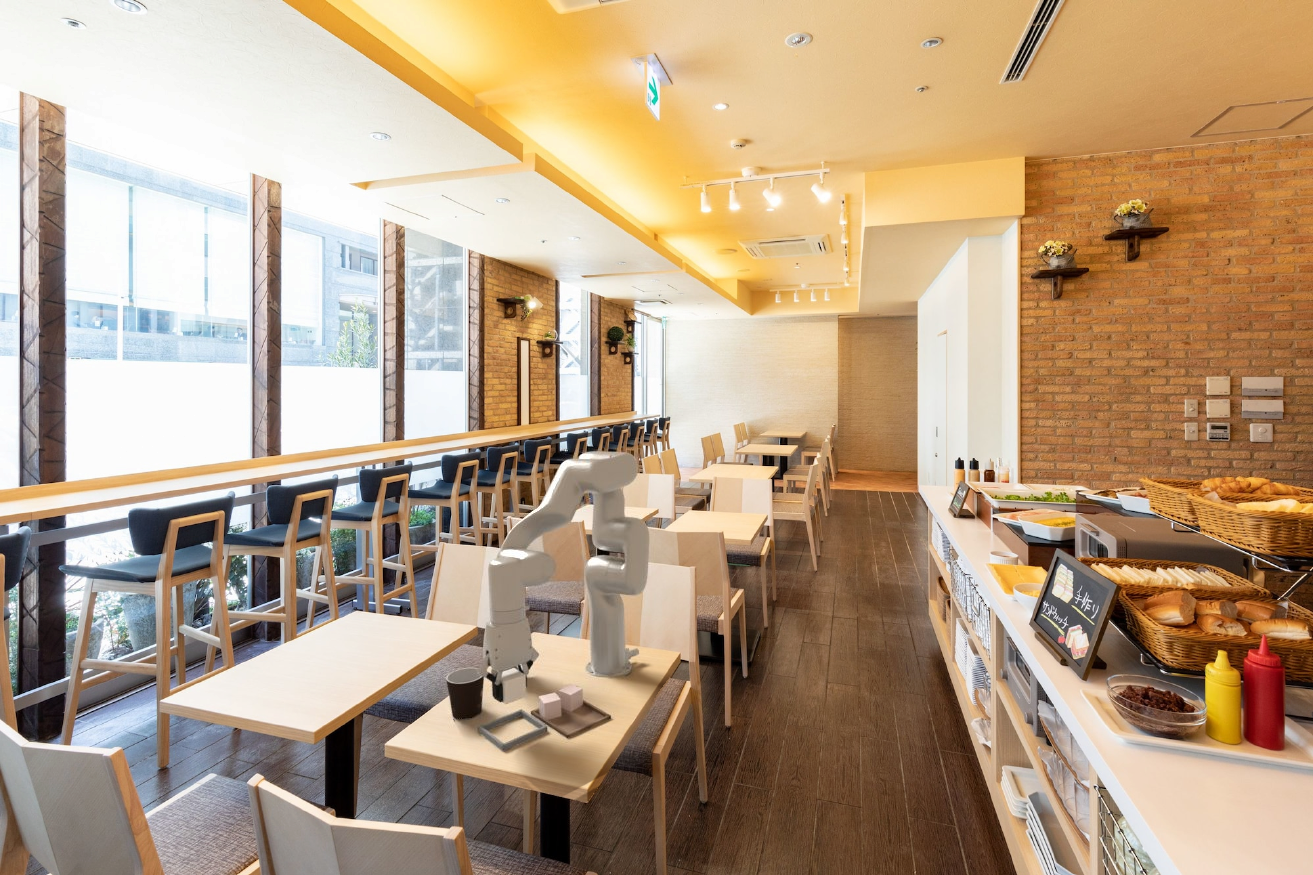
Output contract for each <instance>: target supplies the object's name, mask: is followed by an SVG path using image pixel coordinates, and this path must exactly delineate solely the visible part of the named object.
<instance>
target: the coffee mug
mask: <svg viewBox="0 0 1313 875" xmlns="http://www.w3.org/2000/svg"><path fill="white" fill-rule="evenodd" d="M478 669H479V667H464V668H459V669H456V670H453V671H451V672H450V673H448V674H447V675H446V677H445V680H446V685H447V691H448V698H449V703H450V709H451V715H452V717H453V722H456V720H463V721H464V720H470V719H473V718H476V717H477V716H479V715H480V714H481V713H482V710H483V708H482V707H483V696H484V681H485V680H484V679H485V677H483V676H481V675H479V674H478V673H477V670H478ZM455 719H456V720H455Z"/></svg>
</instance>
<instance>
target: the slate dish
mask: <svg viewBox="0 0 1313 875" xmlns="http://www.w3.org/2000/svg"><path fill="white" fill-rule="evenodd" d="M520 717H521V718H522V719H524V720H526V721H527V722H529V723H530V724H532V725H533V726H535V727H536V729H534V730H532V731H530V732H527V733H524V734H522V735H520V736H517V737H516V738H513V739H511V740H508V741H506V742H504V743H503V741H502V740H501V739H499V738H498V737H496V736H495V735H493V734H492V733H491V732H490V731H489V730H490V729H493V728H495V727H497V726H500V725H503V724H506V723H507V722H510V721H512V720H516V719H518V718H520ZM477 733H479V734H480V735H481V736H482V737H484V739H487V740H488V741H489V742H490V743H491V744H493V745H494V746H495V747H497V748H498V749H499V750H501V752H505V751H507V750H509V749H512V748H514V747H516V746H518V745H521V744H522V743H525V742H527V741H531V740H532V739H535V738H537V737H538V736H541V735H543V734H546V733H548V725H546V724H545V723H543V722H542V721H540V720H539V719H537V718H536V717H534V716H532V715H531V713H528V712H527V711H525V710H523V709H522V708H521V709H518V710H516V711H513V712H511V713H508V714H506V715H503V716H501V717H498V718H497V719H494V720H491V721H488V722H486V723H483V724H480V725H479V726H477Z"/></svg>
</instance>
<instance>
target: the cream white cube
mask: <svg viewBox="0 0 1313 875" xmlns="http://www.w3.org/2000/svg"><path fill="white" fill-rule="evenodd" d="M501 683H502V685H503V702H502V703H503V704H504V705H508V704H511V703H514V702H516V701H520V700H522V699H524V698H526V697H527V687H526V675H525V674H524V673H522V672H520V671H518V670H517V669H515V668H512V669H509V670H506V671H503V673H502V677H501Z"/></svg>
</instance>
